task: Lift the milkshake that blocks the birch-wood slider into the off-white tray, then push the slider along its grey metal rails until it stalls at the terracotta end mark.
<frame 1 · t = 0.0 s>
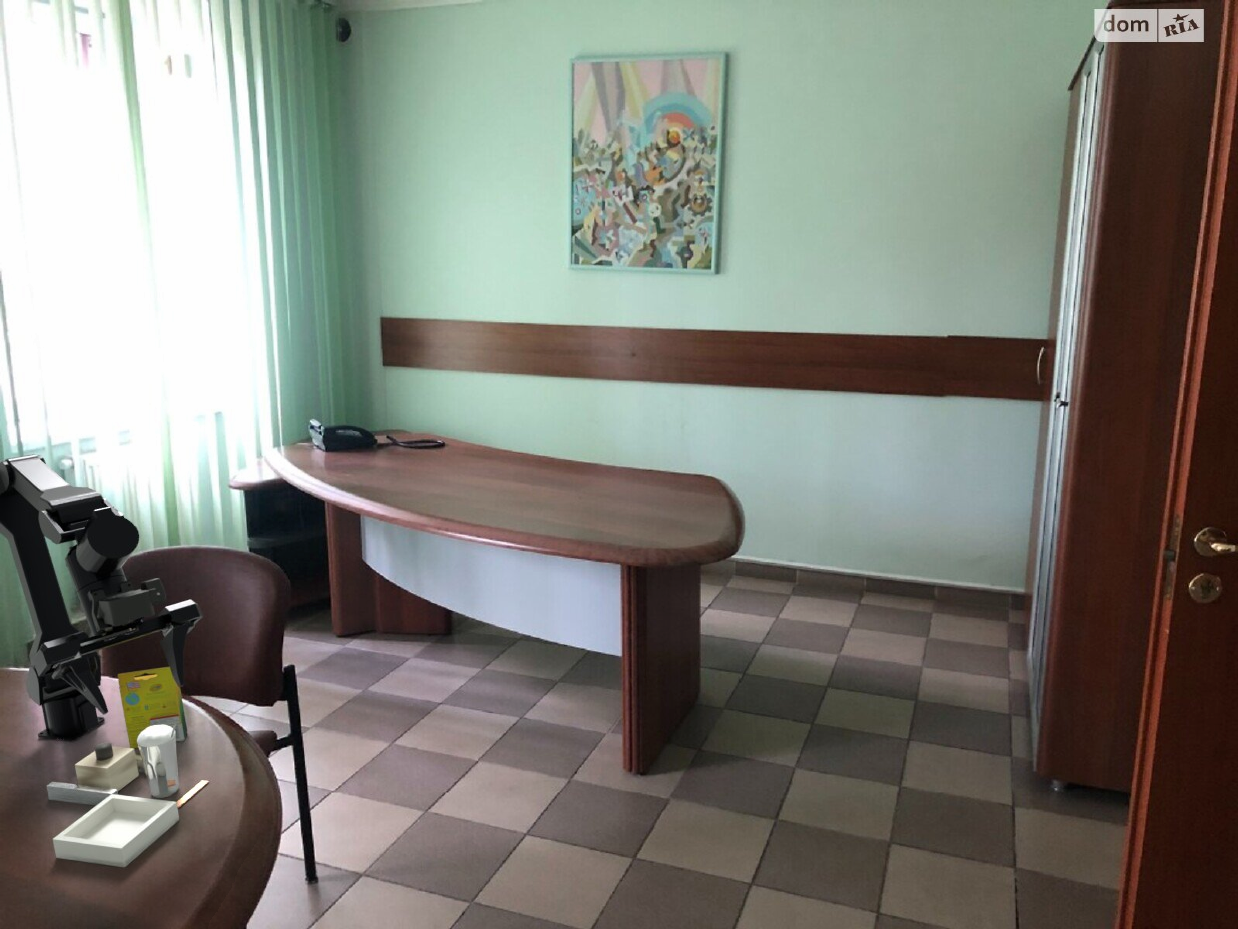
hand: (144, 699, 121), 15 cm above the table, tool tilted 35°, fingers open, 9 cm apart
milkshake: (168, 793, 127), on the table
tray: (119, 838, 118), on the table
slider: (106, 765, 129), point 3 cm above the table, slide at 0.0 cm
crayon box: (159, 741, 141), on the table
slide rails: (106, 784, 130), on the table
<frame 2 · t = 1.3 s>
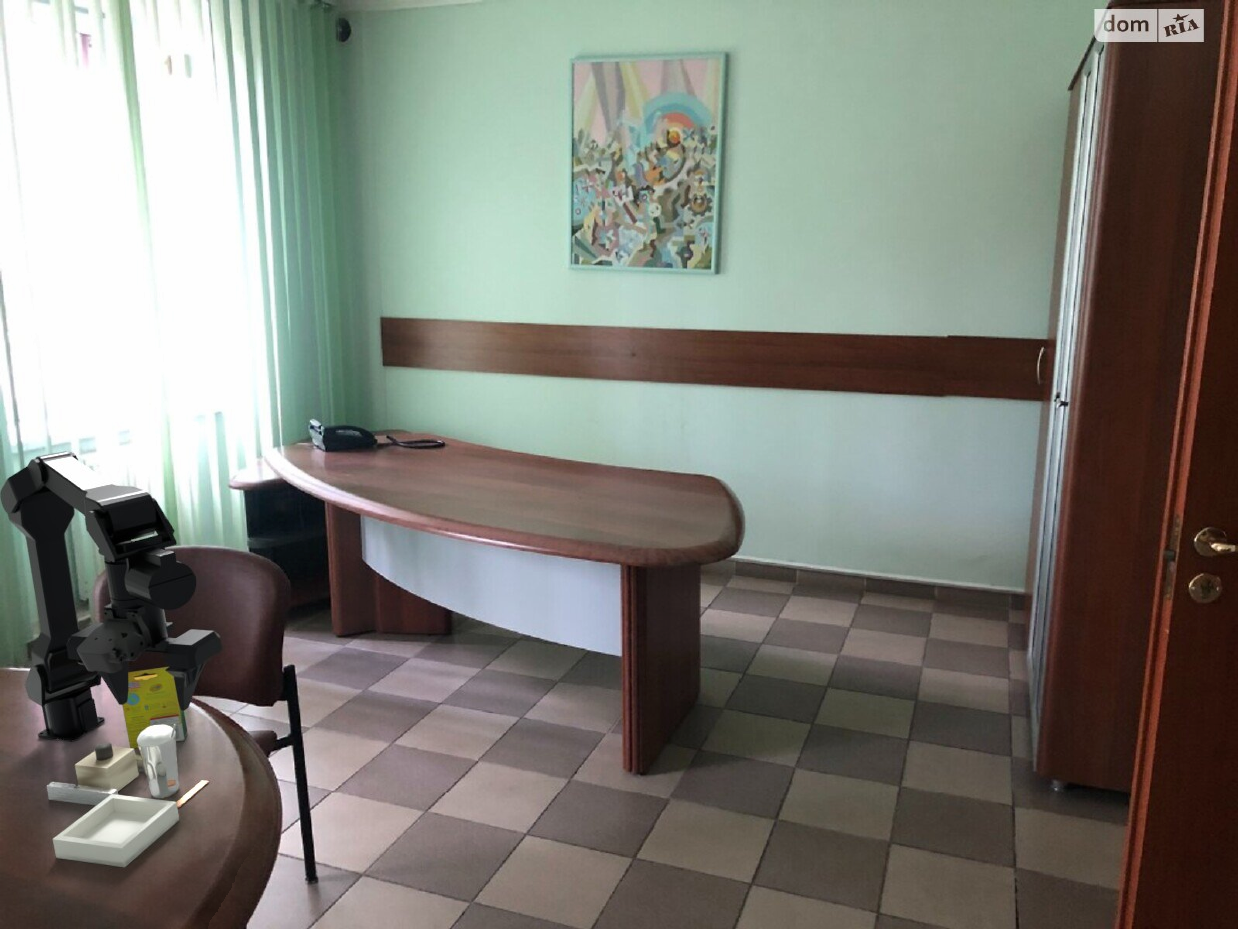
hand: (153, 706, 125), 12 cm above the table, tool pointing down, fingers open, 9 cm apart
nothing on the table moved.
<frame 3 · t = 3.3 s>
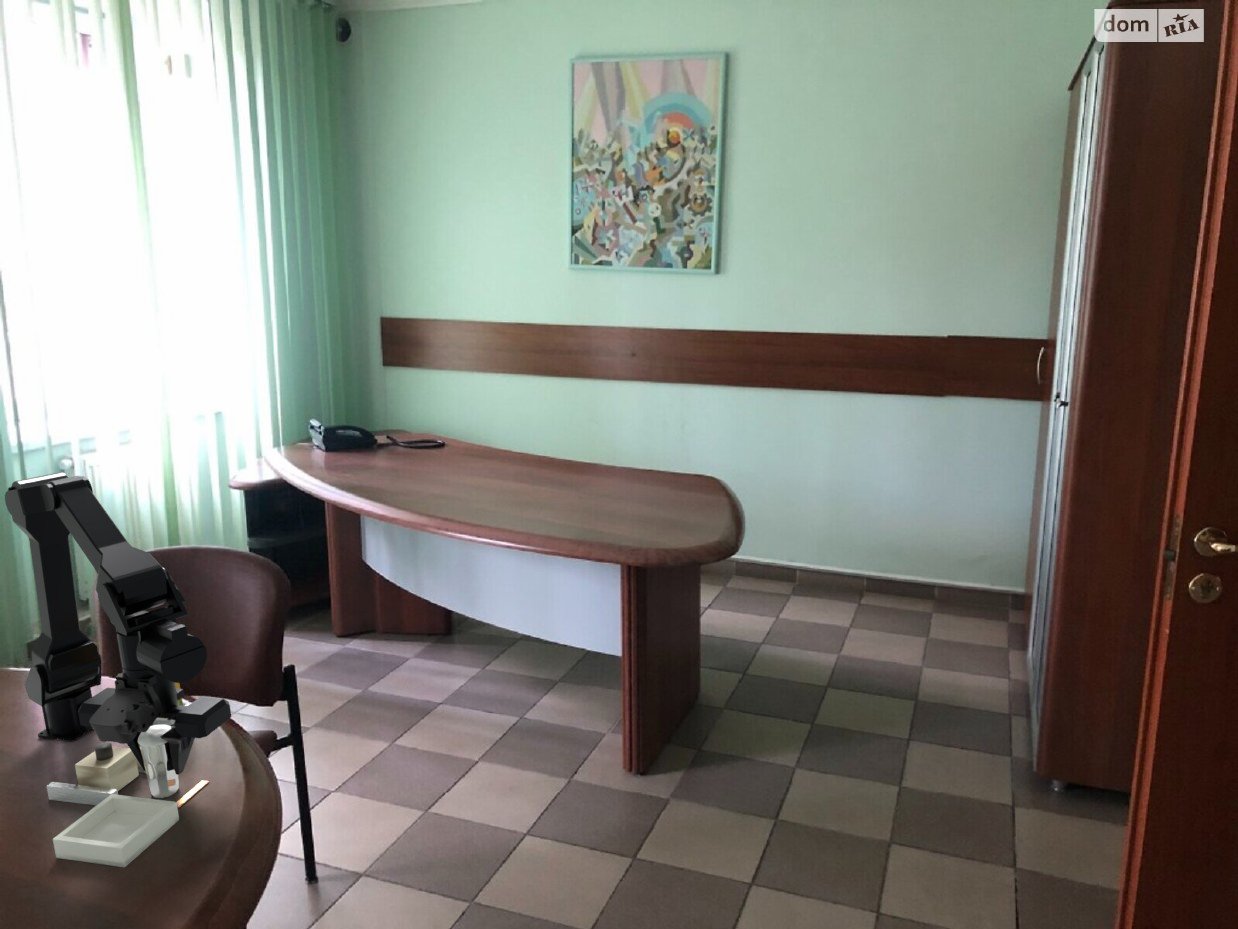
hand: (164, 771, 127), 3 cm above the table, tool pointing down, fingers closed on milkshake, 4 cm apart
milkshake: (168, 793, 127), on the table, touching gripper
everything else where it was.
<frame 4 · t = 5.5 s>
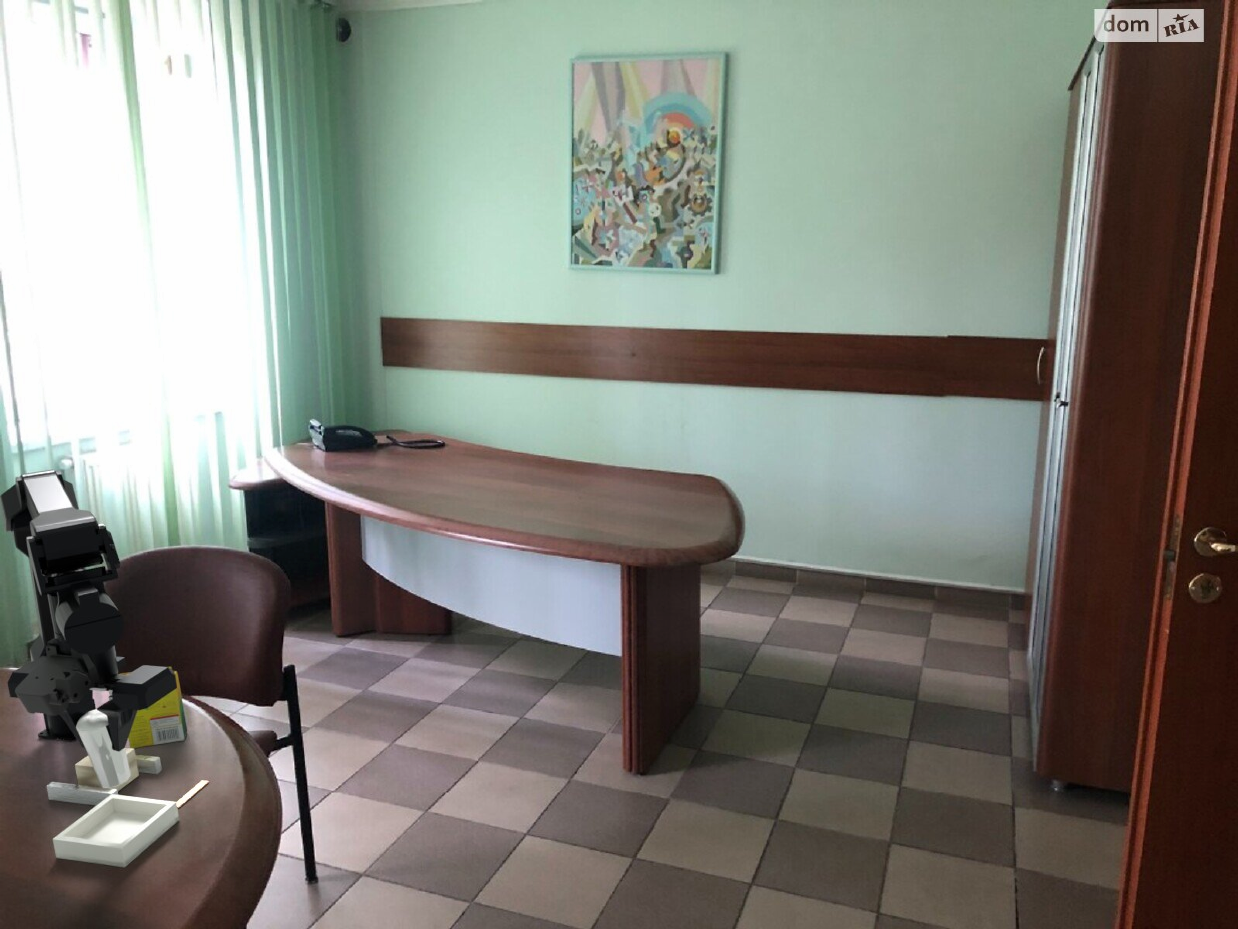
hand: (103, 747, 115), 12 cm above the table, tool pointing down, fingers closed on milkshake, 4 cm apart
milkshake: (119, 782, 116), point 8 cm above the table, touching gripper
everything else where it was.
when the fingers open (5 cm above the table, at t = 7.0 s): milkshake stays where it is, resting on tray.
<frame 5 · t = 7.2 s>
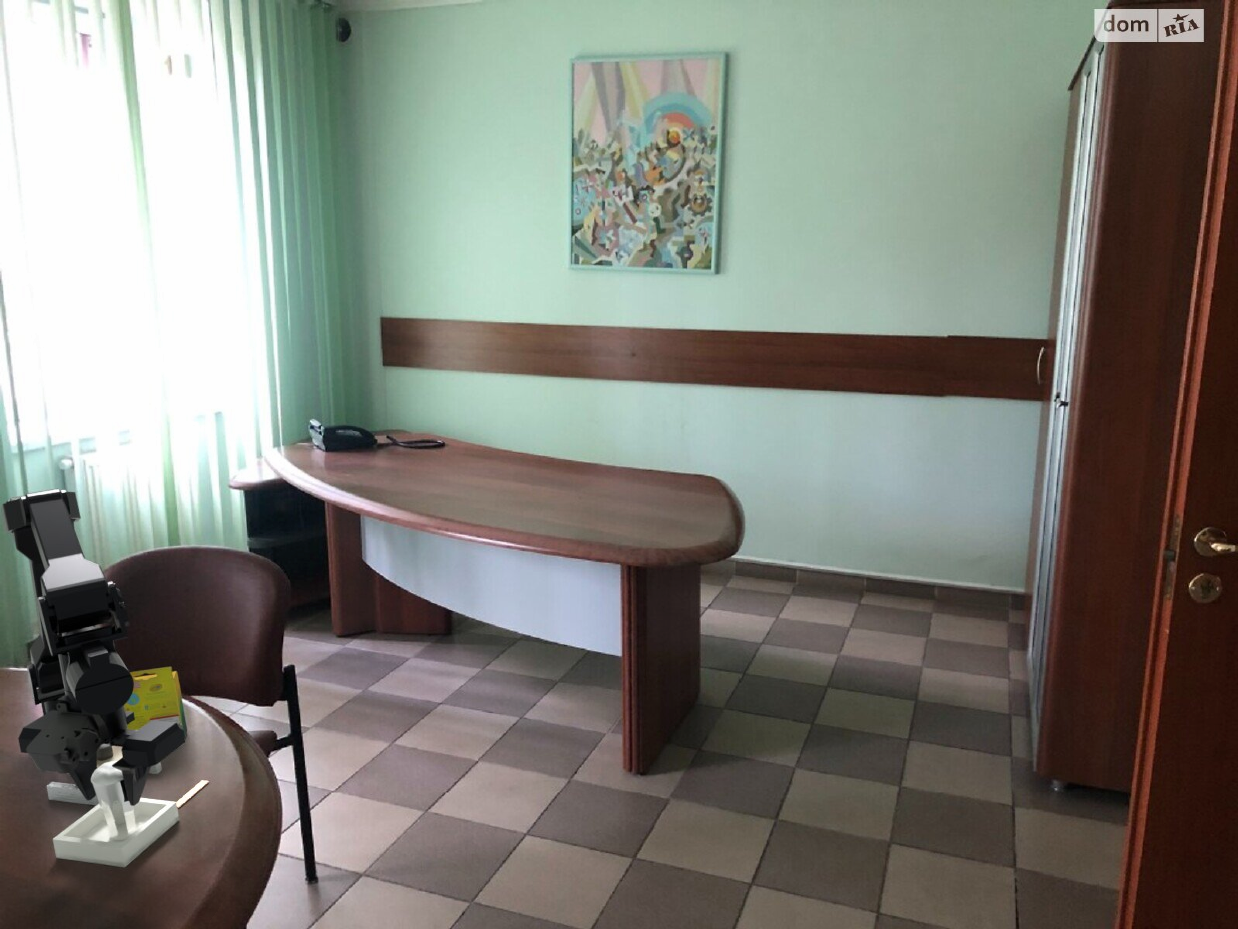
hand: (113, 801, 117), 5 cm above the table, tool pointing down, fingers open, 6 cm apart
milkshake: (128, 834, 118), resting on tray, touching gripper
everything else where it was.
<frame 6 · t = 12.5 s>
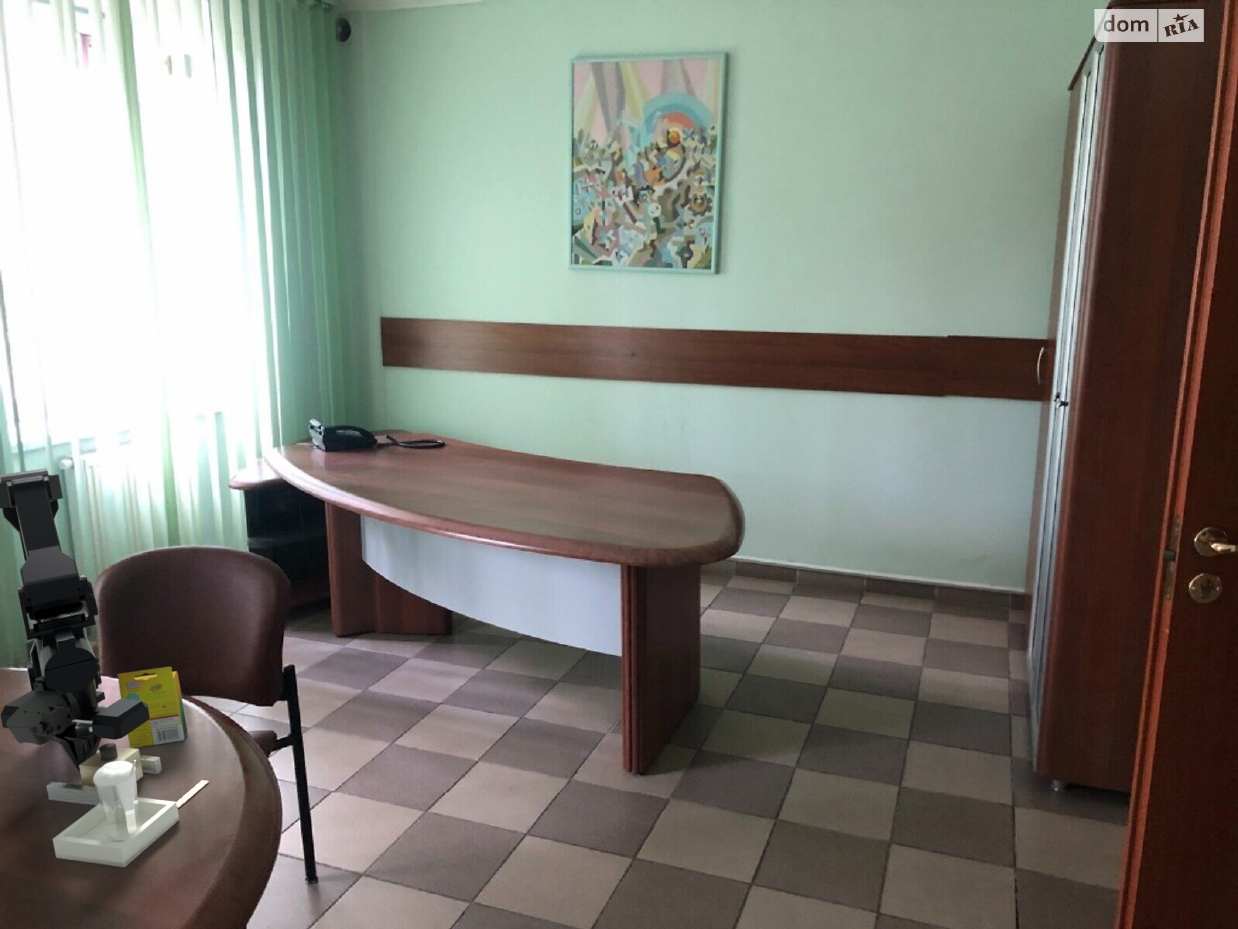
hand: (85, 772, 130), 2 cm above the table, tool pointing down, fingers closed
milkshake: (128, 835, 118), resting on tray
slider: (110, 765, 129), point 3 cm above the table, slide at 0.7 cm, touching gripper
everything else where it was.
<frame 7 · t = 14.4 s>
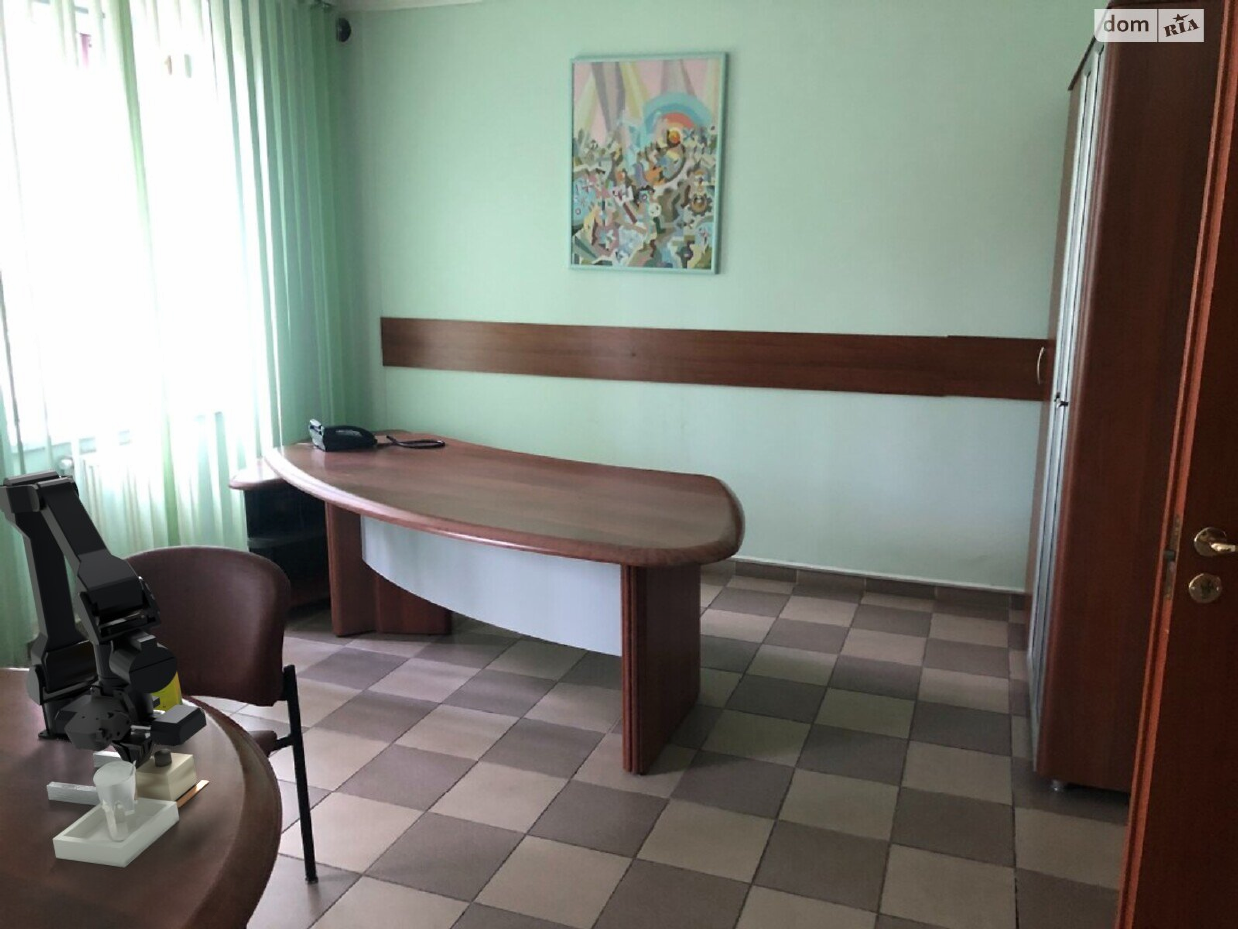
hand: (139, 778, 128), 2 cm above the table, tool pointing down, fingers closed
slider: (165, 771, 127), point 3 cm above the table, slide at 9.1 cm, touching gripper
everything else where it was.
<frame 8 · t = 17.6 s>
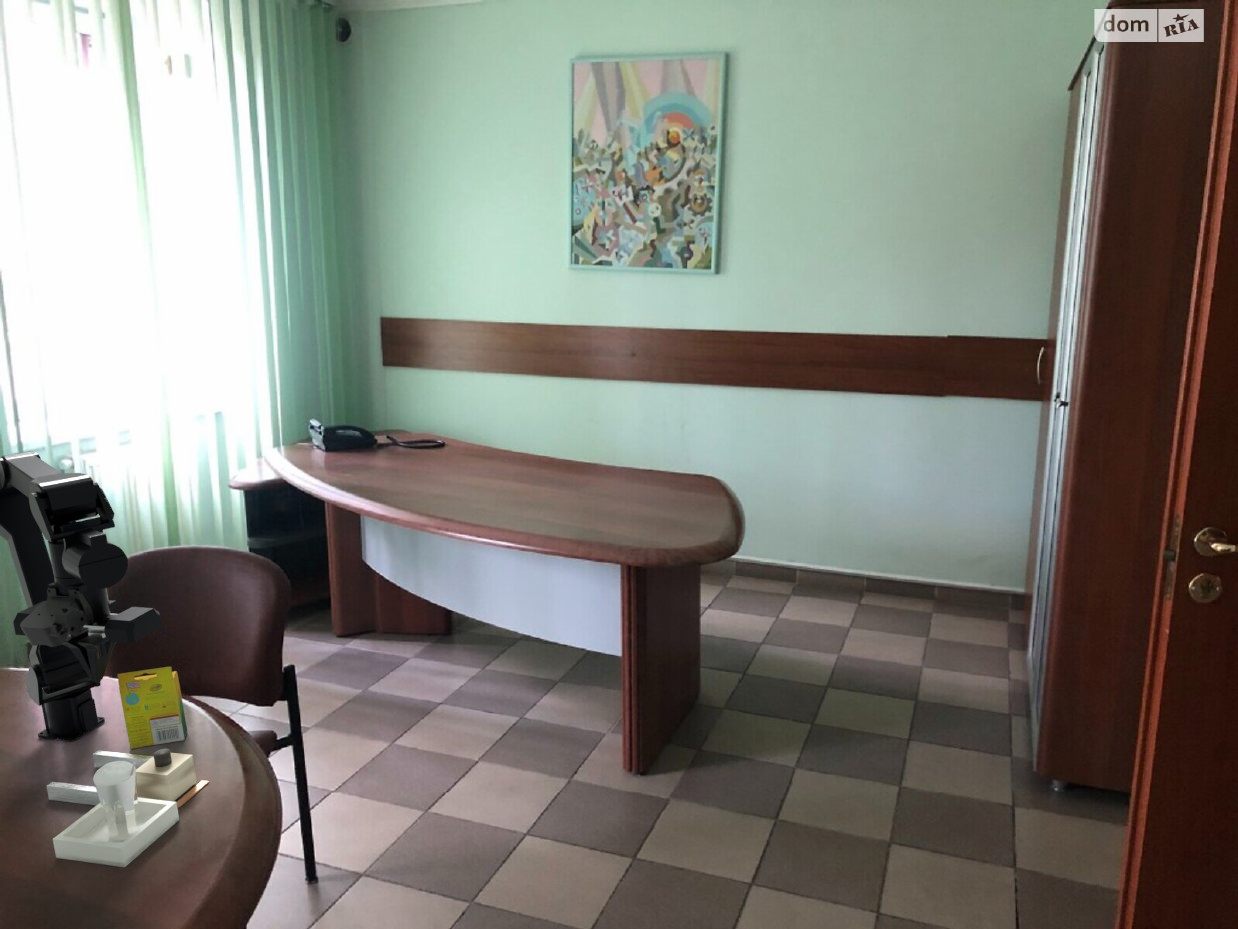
hand: (97, 680, 131), 13 cm above the table, tool pointing down, fingers closed
slider: (164, 771, 127), point 3 cm above the table, slide at 9.0 cm
everything else where it was.
at the end: milkshake inside the target area on the tray (1.1 cm from its centre), point 0.4 cm above the tray's base; slider slide at 9.0 cm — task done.
